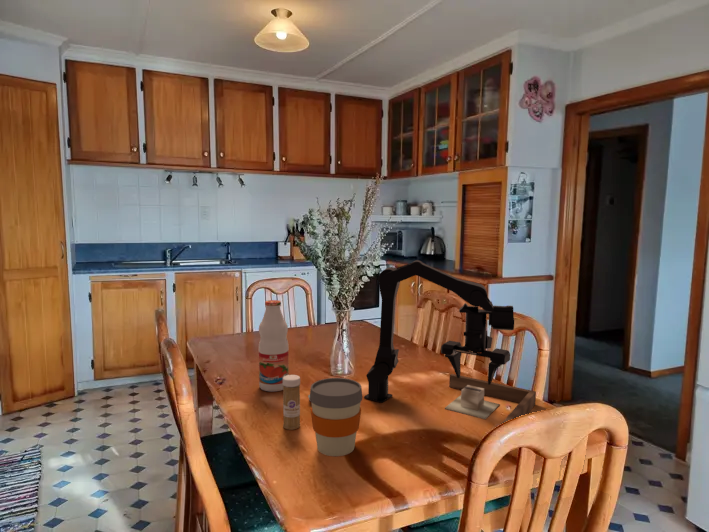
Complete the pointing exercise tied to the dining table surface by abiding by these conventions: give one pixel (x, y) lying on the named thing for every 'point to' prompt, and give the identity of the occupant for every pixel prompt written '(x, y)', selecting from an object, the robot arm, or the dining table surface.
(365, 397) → the robot arm
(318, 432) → the reusable coffee cup
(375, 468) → the dining table surface
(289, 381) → the sprinkles bottle
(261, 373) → the fruit juice
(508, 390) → the corner arena
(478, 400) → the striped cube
